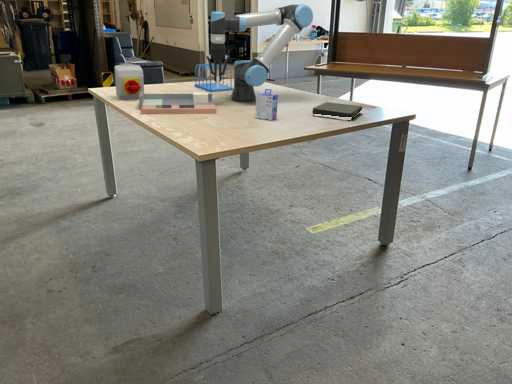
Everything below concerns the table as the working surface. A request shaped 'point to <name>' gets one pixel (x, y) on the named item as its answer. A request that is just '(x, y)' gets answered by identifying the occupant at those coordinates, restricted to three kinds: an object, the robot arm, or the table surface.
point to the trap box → (174, 104)
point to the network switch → (337, 109)
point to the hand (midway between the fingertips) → (217, 87)
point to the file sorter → (210, 86)
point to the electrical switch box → (129, 81)
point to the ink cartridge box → (266, 105)
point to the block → (200, 97)
